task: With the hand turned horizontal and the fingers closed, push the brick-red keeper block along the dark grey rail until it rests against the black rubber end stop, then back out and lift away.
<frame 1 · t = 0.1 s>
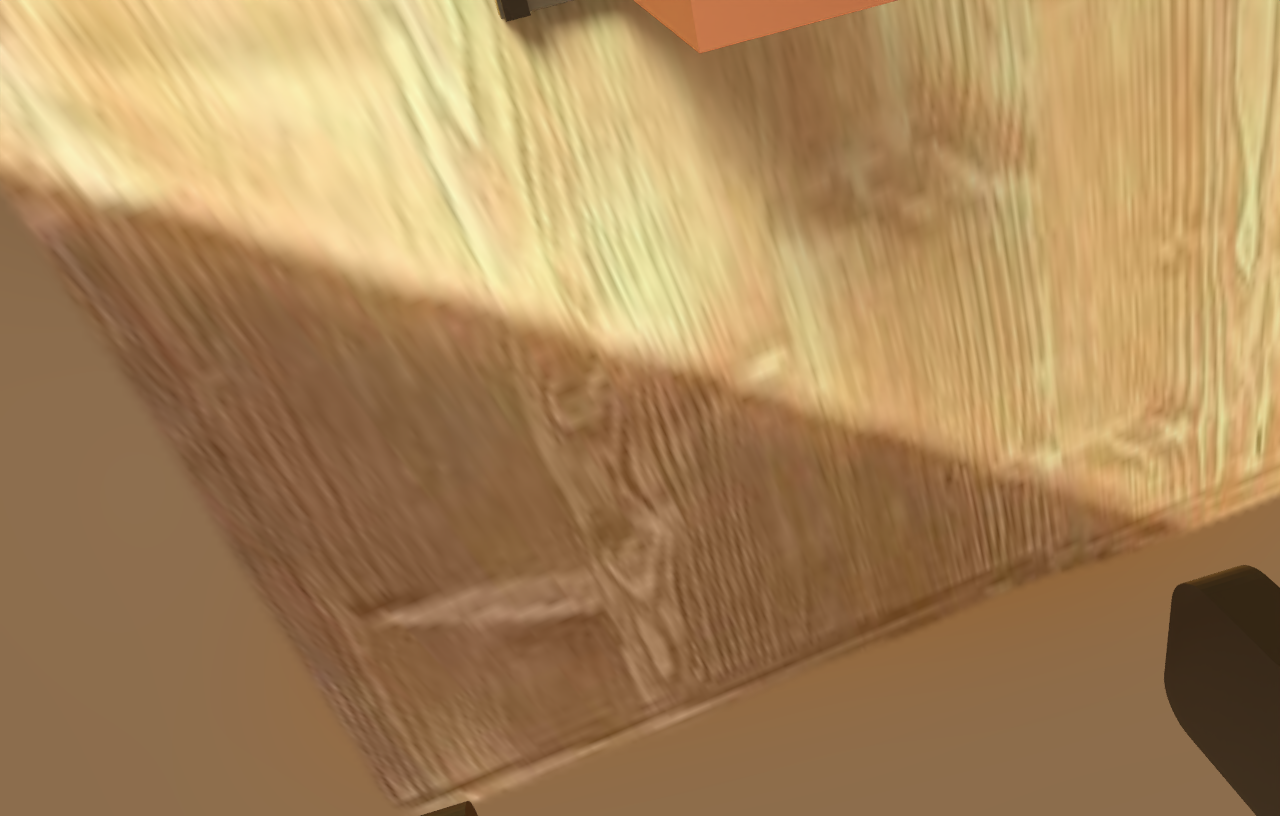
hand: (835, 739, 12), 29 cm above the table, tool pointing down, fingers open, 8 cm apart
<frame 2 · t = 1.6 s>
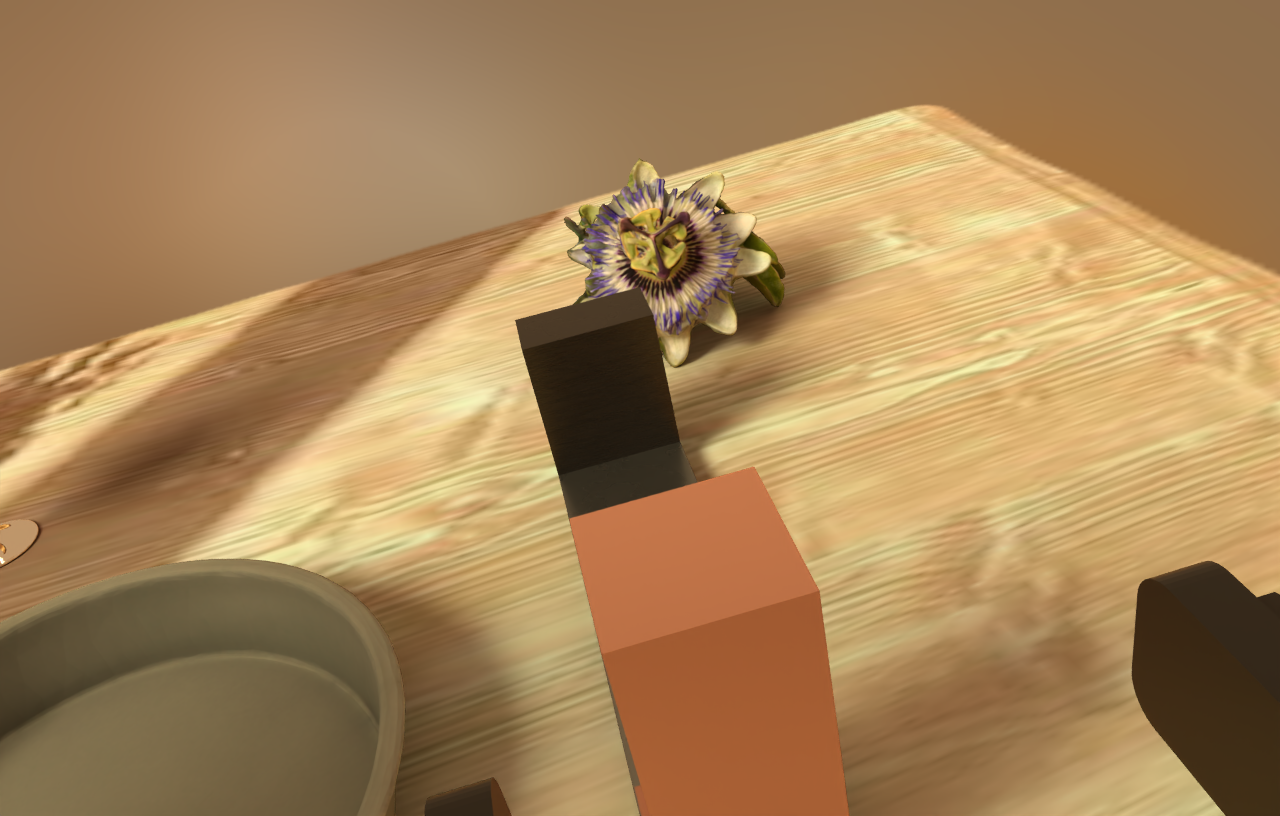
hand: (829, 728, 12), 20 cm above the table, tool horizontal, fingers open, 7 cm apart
passion flower: (682, 328, 62), on the table
rail: (684, 657, 40), on the table
keeper: (721, 718, 29), point 7 cm above the table, slide at 0.0 cm
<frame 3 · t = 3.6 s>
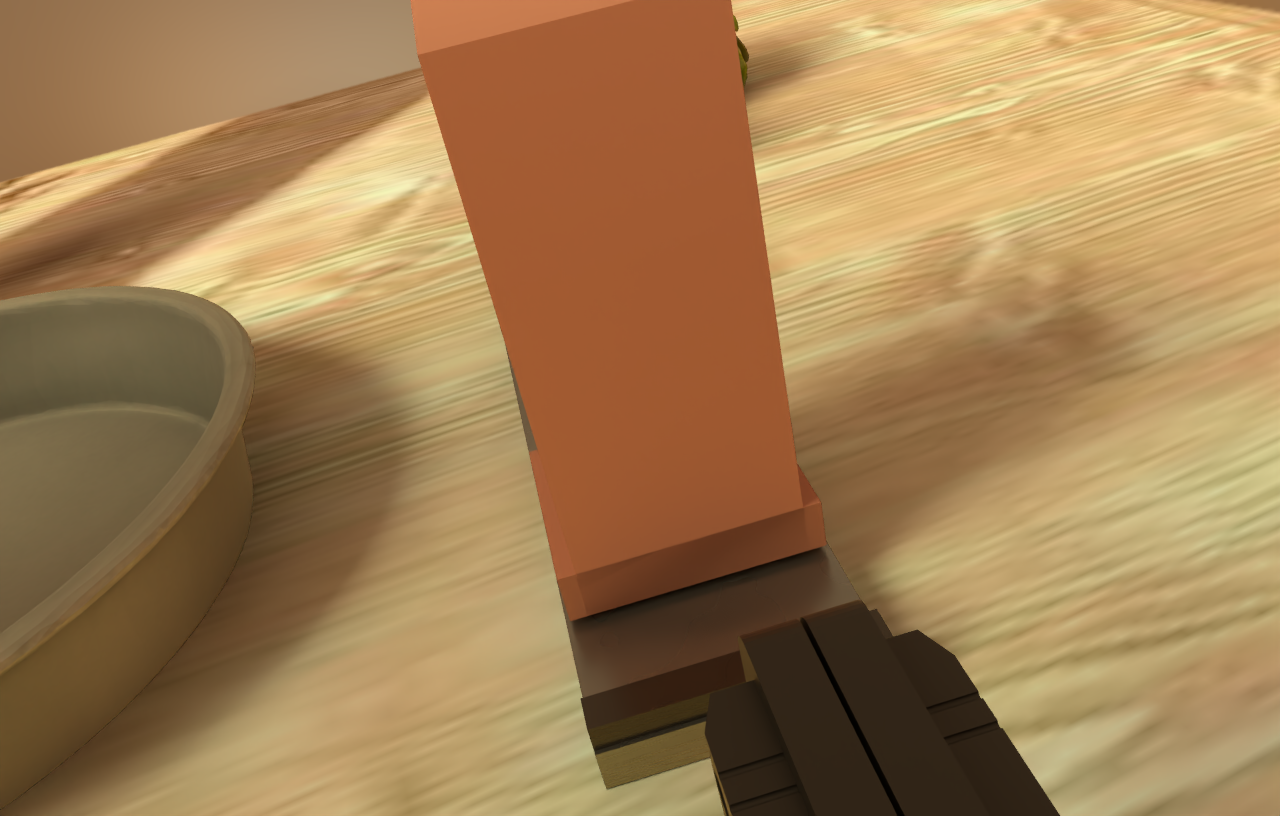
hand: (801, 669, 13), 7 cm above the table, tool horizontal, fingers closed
passion flower: (633, 118, 56), on the table
rail: (610, 370, 34), on the table
keeper: (621, 290, 22), point 7 cm above the table, slide at 0.0 cm
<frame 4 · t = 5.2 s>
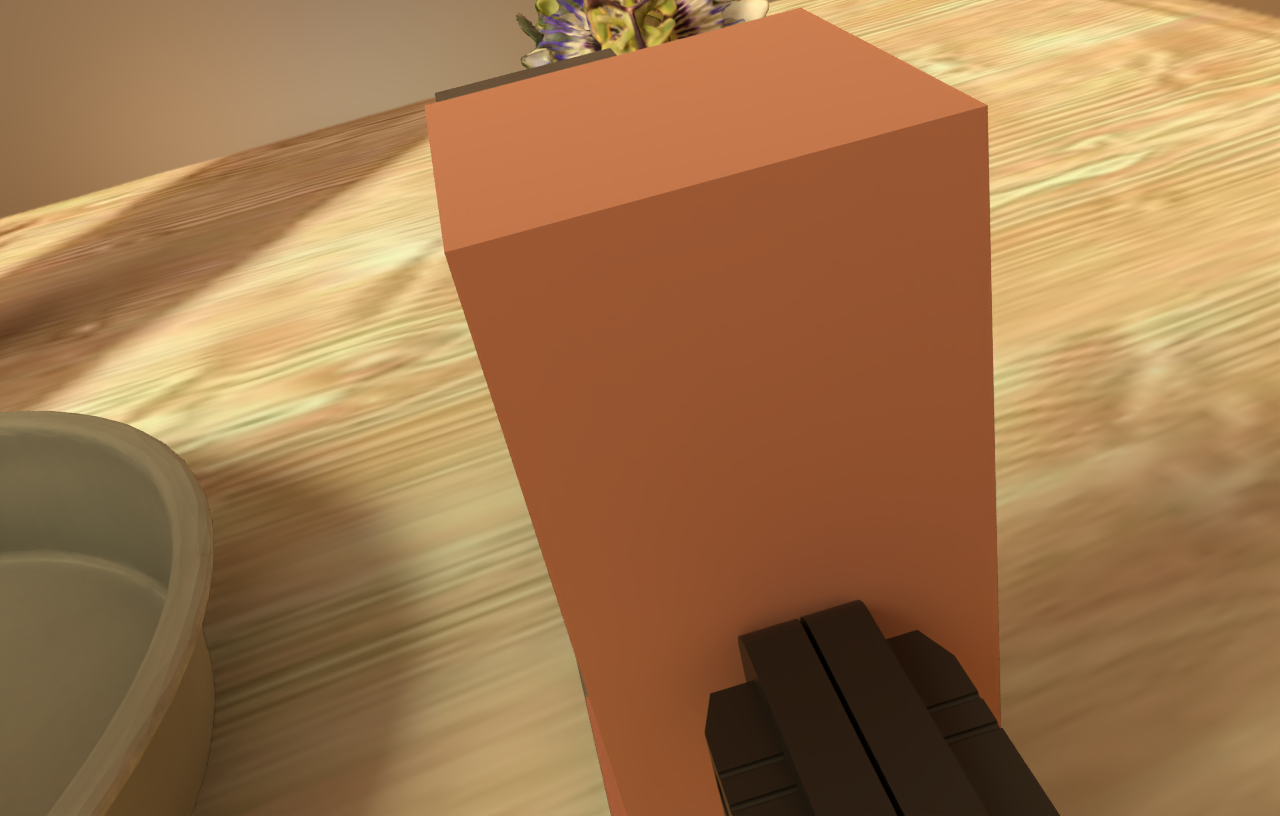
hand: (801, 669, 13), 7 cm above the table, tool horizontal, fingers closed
passion flower: (672, 168, 48), on the table
rail: (675, 532, 26), on the table
keeper: (739, 530, 15), point 7 cm above the table, slide at 0.3 cm, touching gripper
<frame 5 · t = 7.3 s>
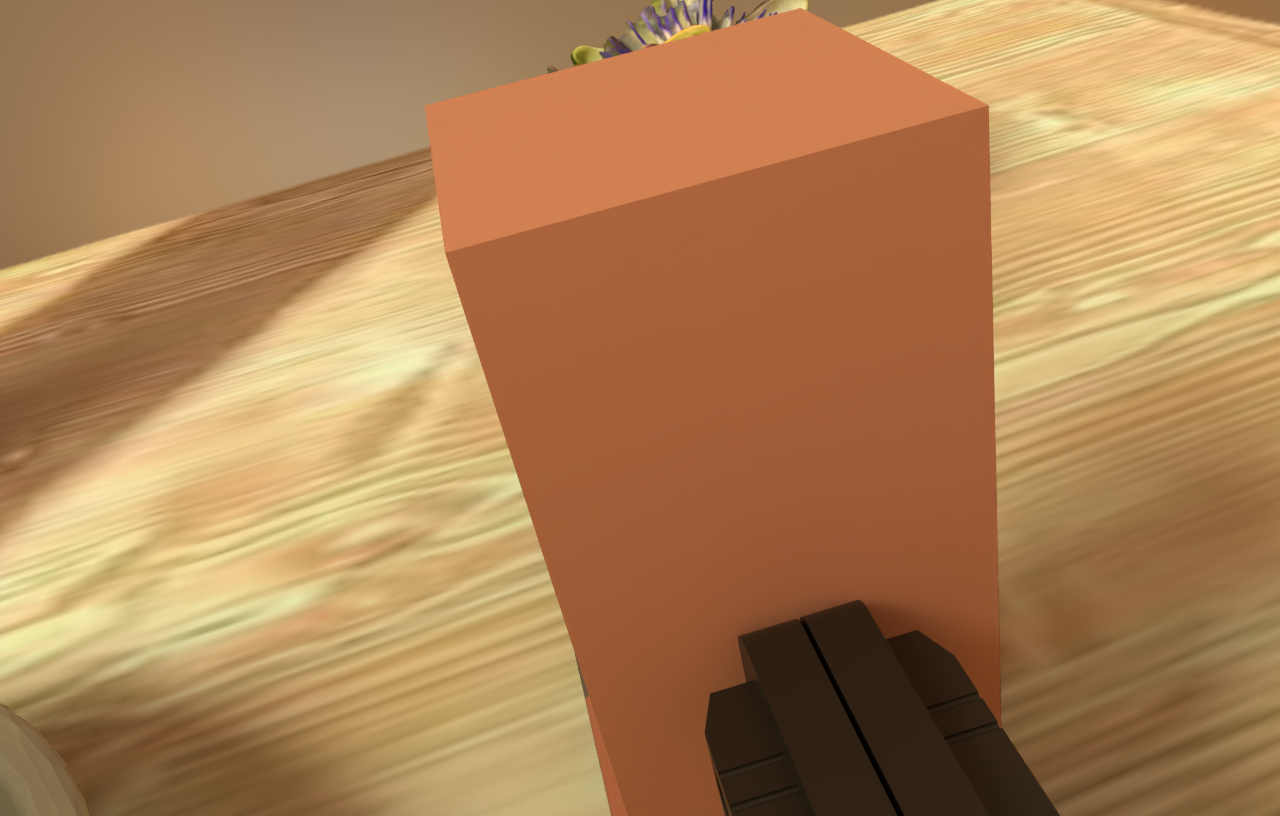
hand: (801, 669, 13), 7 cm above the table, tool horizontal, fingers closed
passion flower: (735, 251, 40), on the table
keeper: (739, 530, 15), point 7 cm above the table, slide at 10.6 cm, touching gripper
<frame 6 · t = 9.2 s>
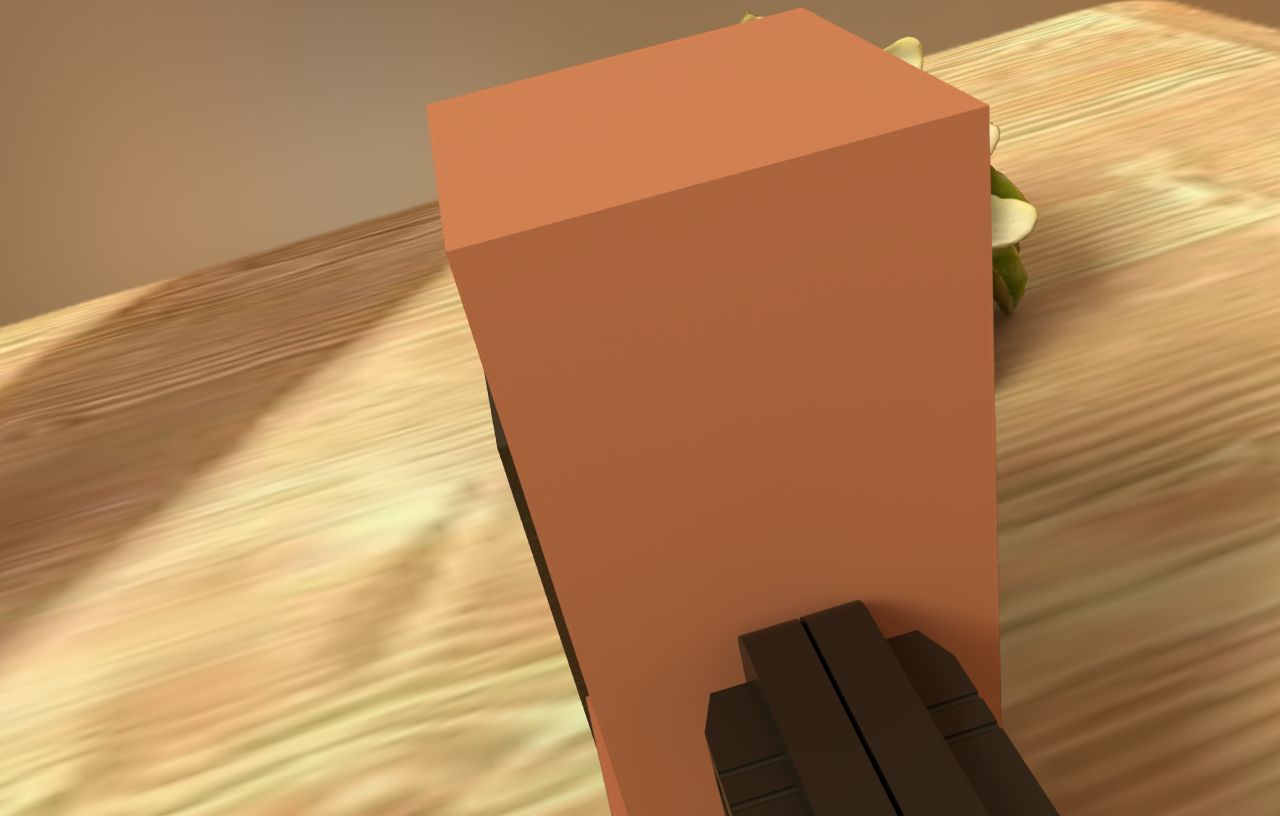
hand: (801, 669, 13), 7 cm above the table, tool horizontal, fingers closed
passion flower: (820, 359, 32), on the table
keeper: (740, 530, 15), point 7 cm above the table, slide at 19.5 cm, touching gripper, rail
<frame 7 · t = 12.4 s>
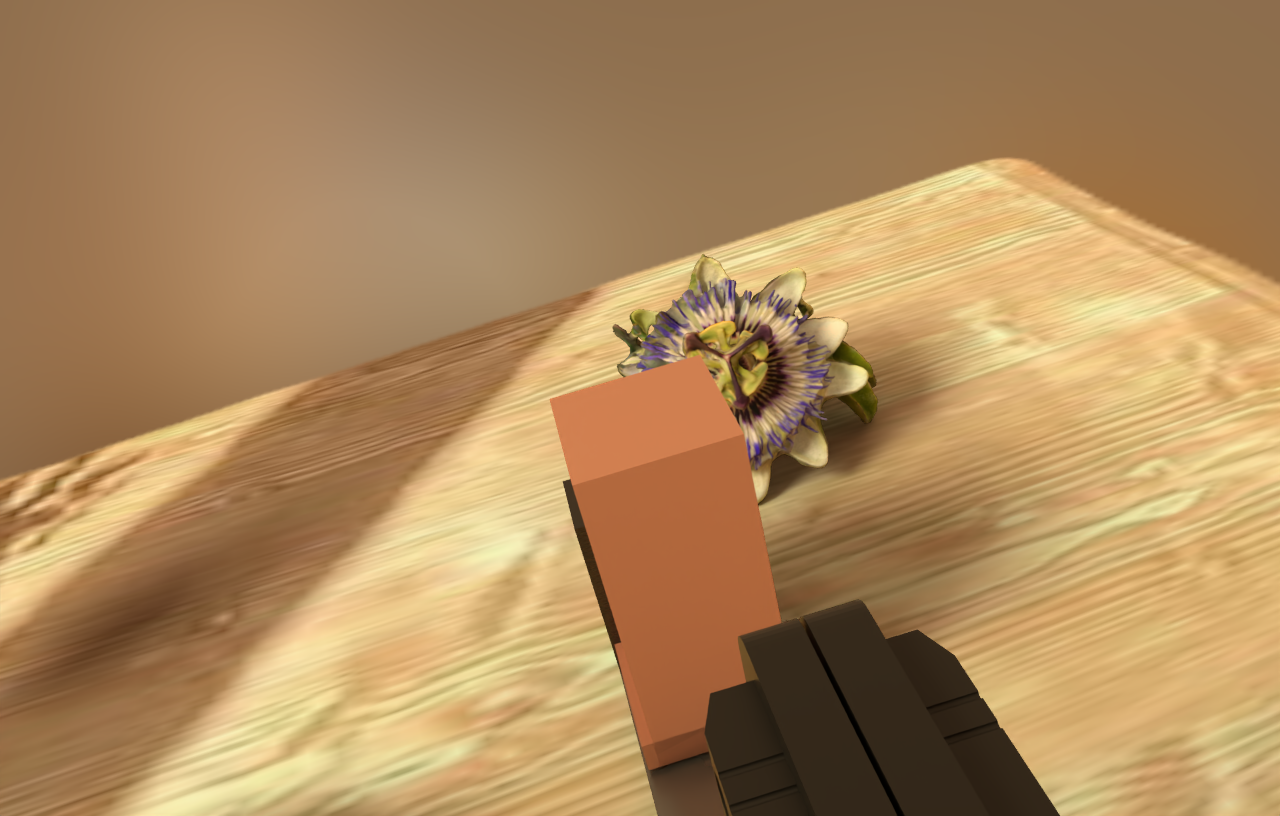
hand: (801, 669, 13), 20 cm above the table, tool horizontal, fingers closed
passion flower: (754, 450, 52), on the table
keeper: (679, 565, 35), point 7 cm above the table, slide at 19.5 cm, touching rail
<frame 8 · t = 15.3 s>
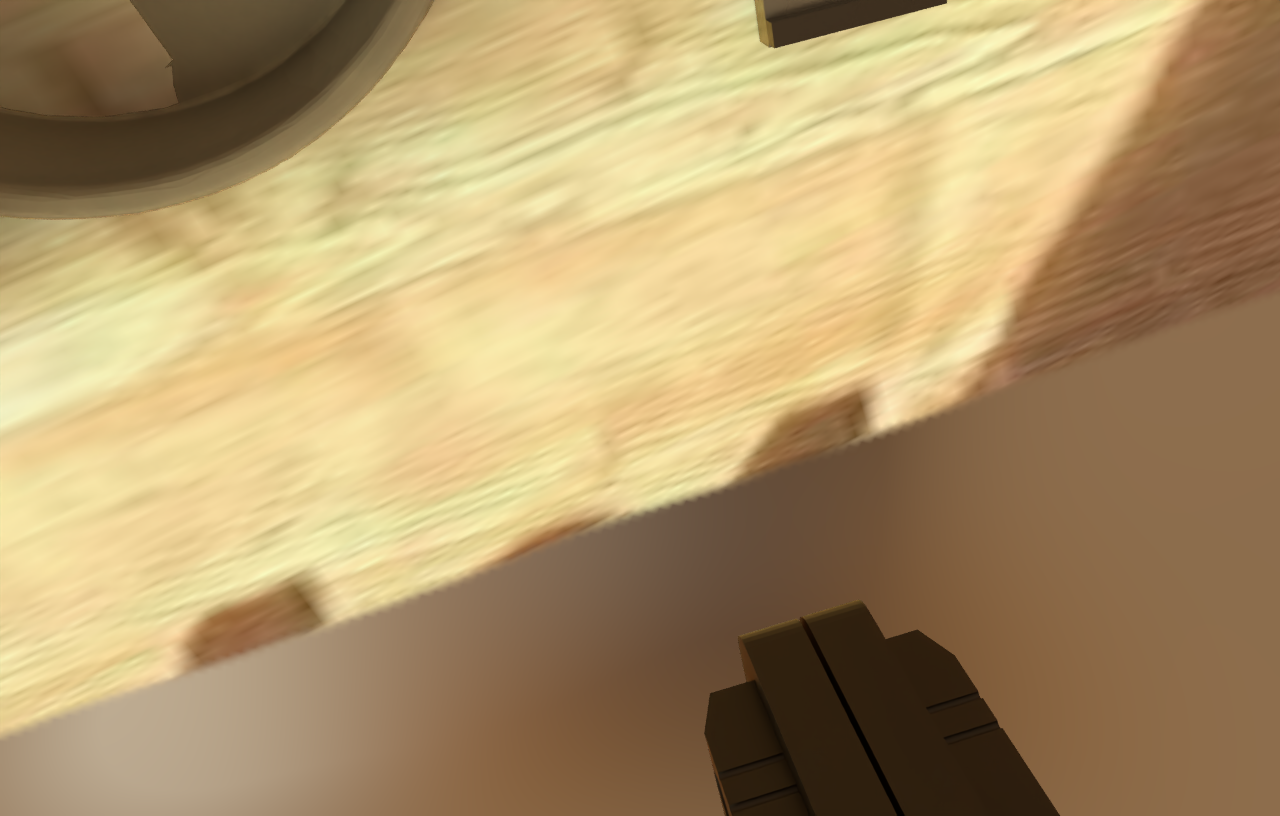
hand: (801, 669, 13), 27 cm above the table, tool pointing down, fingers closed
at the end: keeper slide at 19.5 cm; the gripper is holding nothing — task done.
